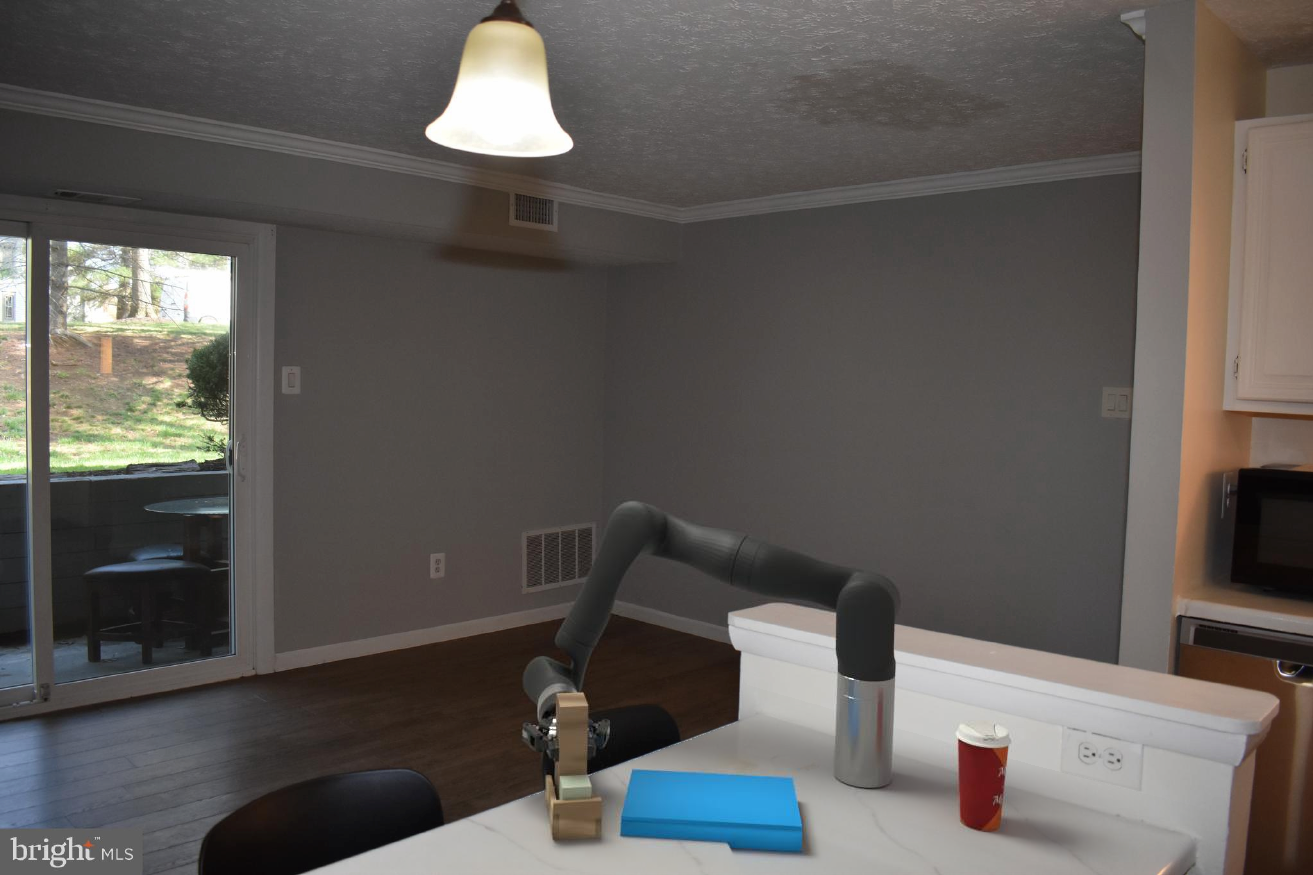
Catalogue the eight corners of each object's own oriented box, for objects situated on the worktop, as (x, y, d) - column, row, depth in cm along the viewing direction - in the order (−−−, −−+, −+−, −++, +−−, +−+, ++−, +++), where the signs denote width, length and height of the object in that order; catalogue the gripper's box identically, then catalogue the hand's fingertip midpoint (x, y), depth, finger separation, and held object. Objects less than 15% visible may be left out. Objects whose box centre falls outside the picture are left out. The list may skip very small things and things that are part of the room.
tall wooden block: (554, 799, 138) (556, 693, 137) (580, 797, 138) (583, 692, 138) (558, 817, 132) (560, 706, 131) (585, 815, 132) (588, 705, 132)
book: (630, 768, 143) (792, 774, 142) (630, 796, 144) (792, 801, 142) (620, 818, 126) (803, 825, 125) (619, 849, 126) (803, 856, 125)
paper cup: (1015, 835, 132) (1019, 739, 131) (961, 833, 132) (965, 737, 131) (996, 810, 140) (1000, 720, 139) (945, 809, 140) (949, 718, 139)
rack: (545, 804, 138) (546, 765, 138) (589, 801, 139) (589, 762, 139) (552, 846, 125) (553, 803, 125) (600, 843, 126) (601, 800, 126)
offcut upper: (559, 796, 130) (559, 776, 130) (587, 795, 131) (587, 774, 131) (561, 809, 126) (562, 788, 126) (590, 807, 127) (591, 786, 127)
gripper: (517, 691, 147) (523, 730, 130) (605, 688, 150) (623, 726, 133) (516, 738, 147) (522, 782, 131) (604, 733, 150) (621, 777, 133)
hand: (573, 753), depth 132 cm, fingers closed on tall wooden block, 4 cm apart
